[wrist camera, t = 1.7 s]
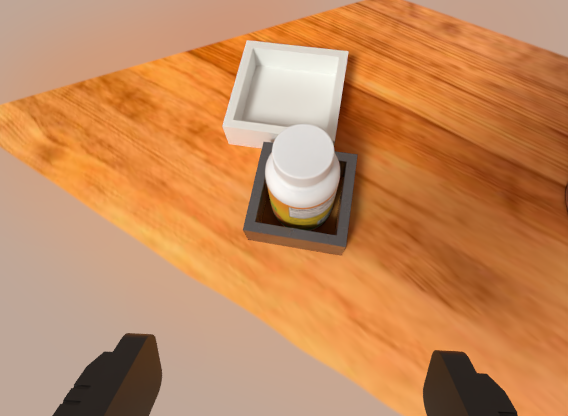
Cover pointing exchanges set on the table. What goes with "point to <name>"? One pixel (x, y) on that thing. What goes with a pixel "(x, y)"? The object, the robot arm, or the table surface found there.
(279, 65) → the tray
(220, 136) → the table surface
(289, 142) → the supplement bottle
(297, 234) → the holder sleeve
